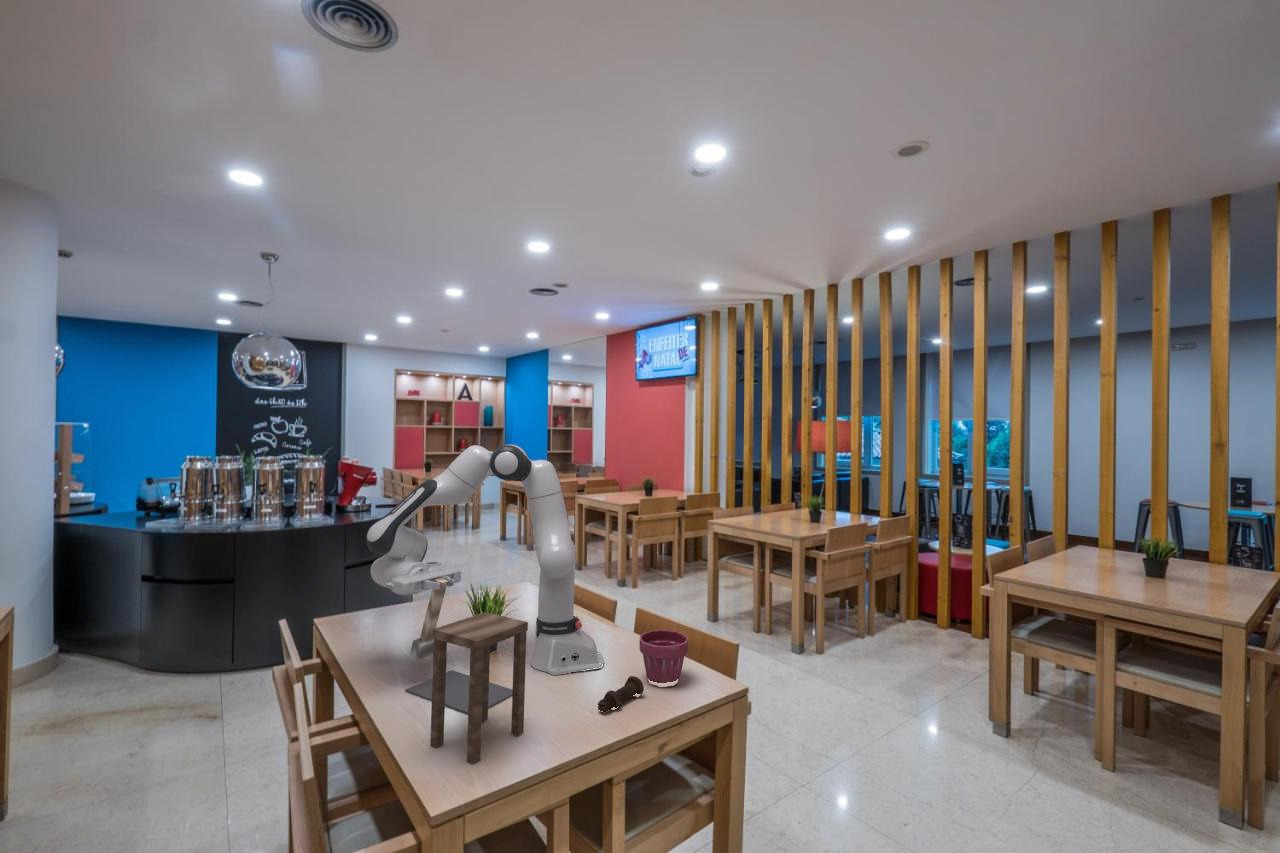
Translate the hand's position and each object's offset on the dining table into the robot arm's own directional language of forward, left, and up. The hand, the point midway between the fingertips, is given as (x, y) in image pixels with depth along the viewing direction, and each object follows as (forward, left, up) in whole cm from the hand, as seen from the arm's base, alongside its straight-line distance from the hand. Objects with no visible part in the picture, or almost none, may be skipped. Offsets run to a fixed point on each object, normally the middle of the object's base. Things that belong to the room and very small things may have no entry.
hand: (446, 584), depth 158 cm
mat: (-5, +3, -28) cm, 29 cm away
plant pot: (-62, +2, -29) cm, 68 cm away
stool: (-13, +29, -28) cm, 42 cm away
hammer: (+5, -4, -8) cm, 10 cm away
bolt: (-47, +15, -29) cm, 57 cm away
